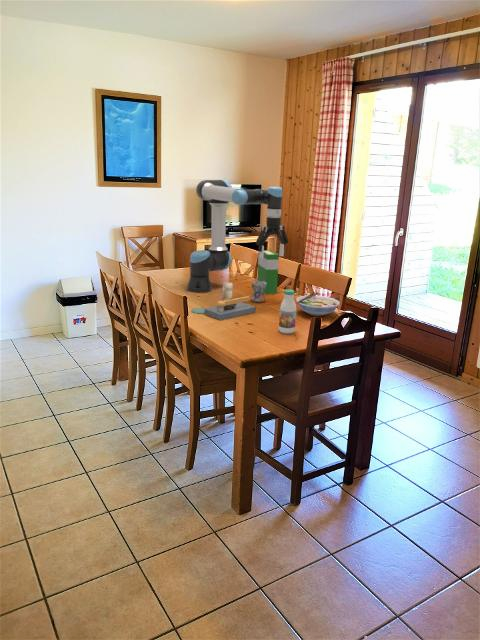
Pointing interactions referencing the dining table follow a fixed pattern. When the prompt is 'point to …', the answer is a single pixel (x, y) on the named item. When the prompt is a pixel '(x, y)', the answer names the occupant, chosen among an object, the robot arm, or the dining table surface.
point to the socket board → (229, 311)
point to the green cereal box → (268, 271)
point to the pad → (198, 310)
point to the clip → (233, 301)
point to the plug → (227, 294)
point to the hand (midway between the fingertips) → (271, 256)
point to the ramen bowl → (317, 304)
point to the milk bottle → (287, 313)
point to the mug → (258, 291)
